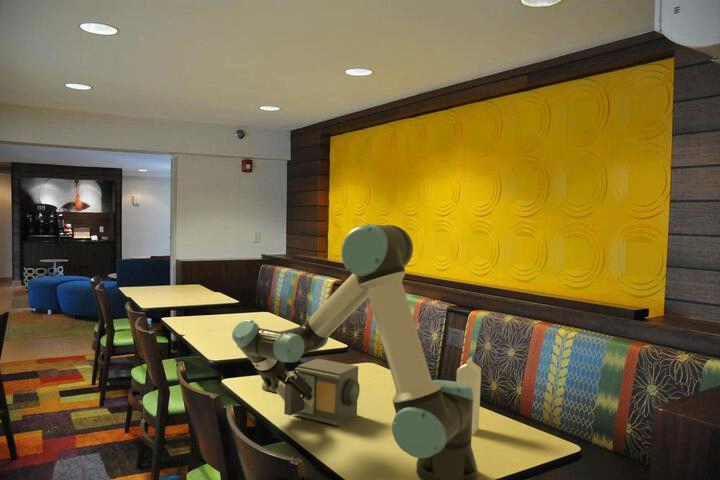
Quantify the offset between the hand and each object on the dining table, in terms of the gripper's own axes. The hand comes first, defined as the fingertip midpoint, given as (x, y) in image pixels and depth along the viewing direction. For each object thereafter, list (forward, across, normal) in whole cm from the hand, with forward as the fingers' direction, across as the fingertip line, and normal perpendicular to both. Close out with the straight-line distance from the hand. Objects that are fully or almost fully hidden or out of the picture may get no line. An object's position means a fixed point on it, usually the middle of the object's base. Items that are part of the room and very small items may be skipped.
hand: (299, 400), depth 173 cm
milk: (+20, +47, +11) cm, 52 cm away
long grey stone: (+20, -13, +10) cm, 26 cm away
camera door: (+1, 0, -4) cm, 4 cm away
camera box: (+9, +6, +1) cm, 11 cm away
